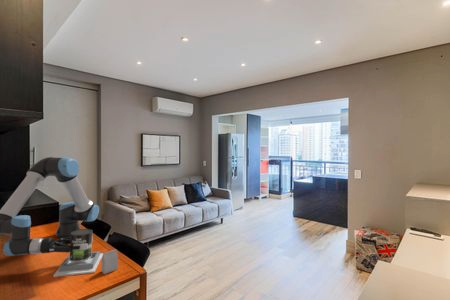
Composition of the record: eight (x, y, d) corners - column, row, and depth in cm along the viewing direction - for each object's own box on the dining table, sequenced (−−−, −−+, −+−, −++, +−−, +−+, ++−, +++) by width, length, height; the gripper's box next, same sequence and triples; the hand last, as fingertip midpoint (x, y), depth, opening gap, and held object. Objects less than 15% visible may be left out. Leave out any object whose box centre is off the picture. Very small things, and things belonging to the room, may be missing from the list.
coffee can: (88, 261, 125) (89, 234, 125) (66, 263, 122) (67, 235, 123) (93, 253, 135) (94, 228, 135) (73, 254, 132) (74, 229, 132)
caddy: (69, 257, 137) (69, 251, 137) (103, 254, 142) (103, 248, 142) (53, 276, 116) (53, 270, 116) (94, 272, 121) (94, 266, 121)
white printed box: (117, 269, 125) (118, 250, 125) (104, 274, 120) (104, 254, 120) (114, 267, 128) (115, 248, 128) (101, 271, 122) (102, 252, 123)
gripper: (51, 244, 135) (95, 241, 141) (31, 262, 113) (83, 258, 119) (51, 231, 135) (95, 229, 141) (31, 246, 113) (84, 243, 119)
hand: (90, 242), depth 130 cm, fingers closed on coffee can, 10 cm apart
